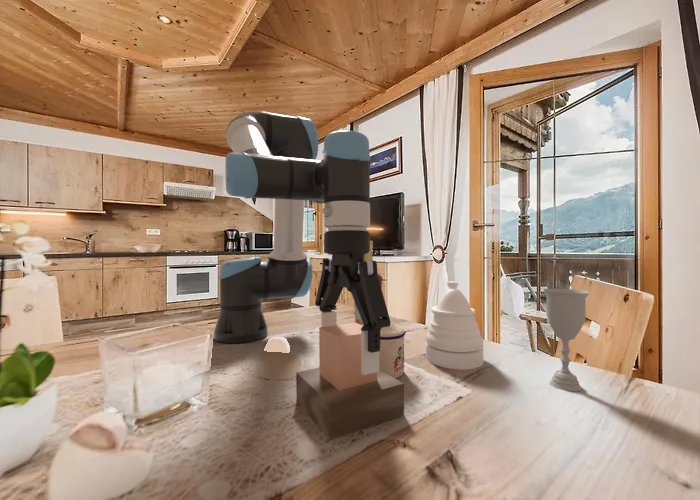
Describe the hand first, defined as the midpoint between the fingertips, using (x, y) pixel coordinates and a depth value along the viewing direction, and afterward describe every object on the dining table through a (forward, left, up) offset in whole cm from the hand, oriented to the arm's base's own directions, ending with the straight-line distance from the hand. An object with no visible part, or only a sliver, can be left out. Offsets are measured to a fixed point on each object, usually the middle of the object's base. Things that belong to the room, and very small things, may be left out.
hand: (347, 358), depth 54 cm
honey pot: (-7, +33, -8) cm, 35 cm away
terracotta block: (0, 0, -3) cm, 3 cm away
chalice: (+14, +40, -8) cm, 43 cm away
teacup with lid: (-10, +15, -8) cm, 20 cm away
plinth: (0, 0, -8) cm, 8 cm away
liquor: (-21, +18, -8) cm, 29 cm away
